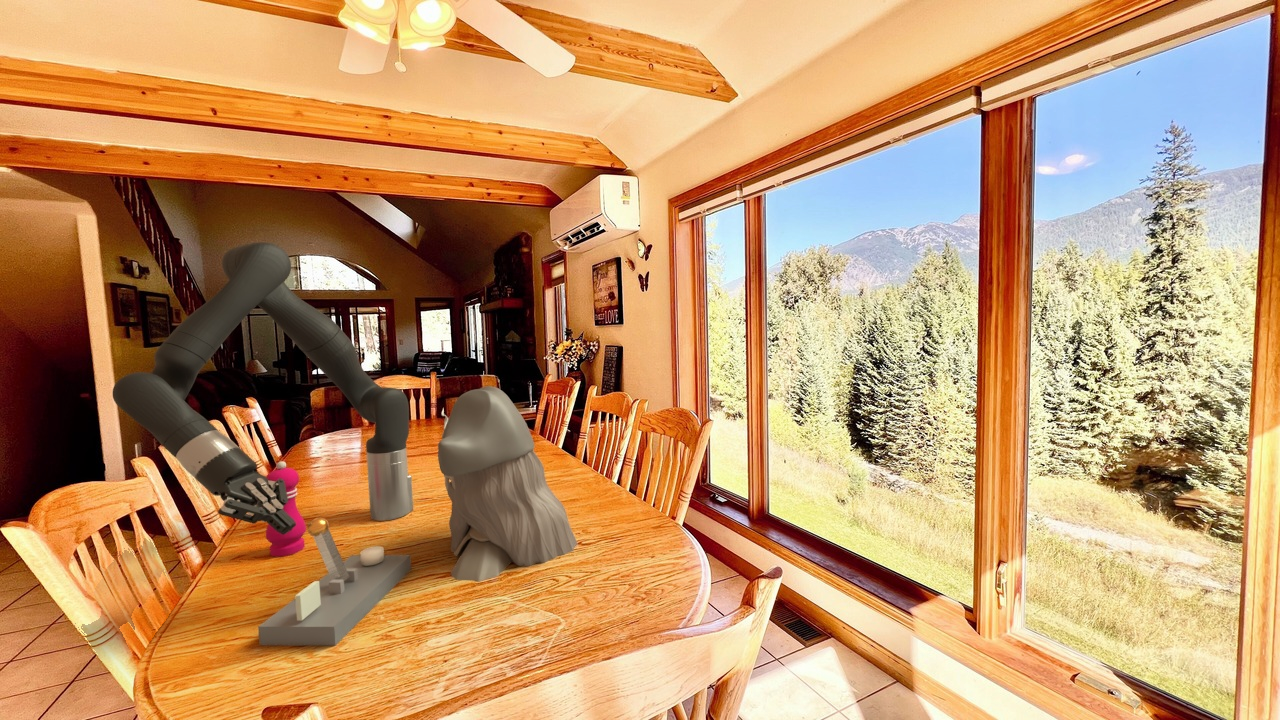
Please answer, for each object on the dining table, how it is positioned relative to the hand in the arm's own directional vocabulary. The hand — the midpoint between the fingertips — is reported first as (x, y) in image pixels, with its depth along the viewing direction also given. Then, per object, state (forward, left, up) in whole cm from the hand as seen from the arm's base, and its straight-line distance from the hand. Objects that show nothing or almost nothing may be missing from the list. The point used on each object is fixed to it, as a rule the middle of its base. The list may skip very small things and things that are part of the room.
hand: (290, 529), depth 90 cm
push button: (-12, +3, -10) cm, 16 cm away
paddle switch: (+3, +12, -10) cm, 16 cm away
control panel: (-5, +8, -13) cm, 16 cm away
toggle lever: (-5, +8, -10) cm, 14 cm away
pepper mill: (-10, -25, -14) cm, 30 cm away
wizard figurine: (-36, +14, -14) cm, 41 cm away
